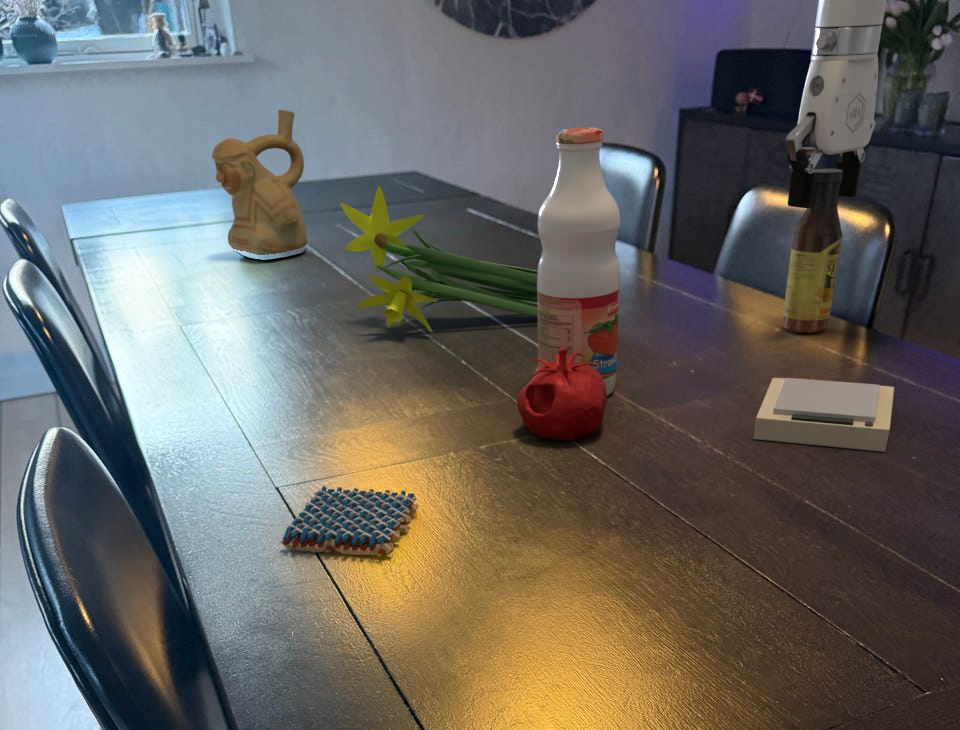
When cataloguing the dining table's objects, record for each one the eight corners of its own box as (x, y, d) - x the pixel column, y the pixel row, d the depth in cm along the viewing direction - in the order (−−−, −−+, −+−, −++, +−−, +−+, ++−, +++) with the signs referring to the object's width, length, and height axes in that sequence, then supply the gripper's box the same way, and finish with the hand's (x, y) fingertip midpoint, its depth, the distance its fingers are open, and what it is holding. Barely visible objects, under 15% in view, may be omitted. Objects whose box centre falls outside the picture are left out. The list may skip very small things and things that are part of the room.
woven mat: (424, 507, 88) (422, 487, 87) (390, 562, 80) (387, 541, 79) (321, 501, 90) (318, 482, 89) (278, 554, 82) (274, 533, 81)
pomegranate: (593, 409, 107) (595, 328, 102) (618, 441, 99) (621, 354, 94) (509, 418, 106) (507, 336, 101) (528, 451, 98) (526, 364, 93)
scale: (770, 397, 108) (773, 372, 106) (890, 407, 103) (895, 381, 102) (753, 439, 98) (756, 412, 96) (885, 452, 94) (891, 423, 92)
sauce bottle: (827, 336, 126) (853, 174, 115) (779, 334, 128) (800, 174, 116) (828, 322, 131) (853, 166, 120) (782, 321, 133) (803, 166, 121)
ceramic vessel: (211, 258, 187) (183, 117, 173) (292, 241, 198) (272, 106, 184) (255, 270, 177) (229, 120, 163) (339, 251, 187) (321, 109, 173)
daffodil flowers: (569, 345, 131) (321, 291, 125) (546, 371, 145) (323, 323, 140) (589, 227, 130) (342, 167, 125) (565, 264, 145) (342, 212, 140)
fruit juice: (545, 376, 118) (542, 126, 102) (619, 378, 116) (628, 123, 100) (532, 402, 110) (527, 136, 94) (611, 405, 108) (620, 133, 92)
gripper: (830, 49, 104) (806, 215, 113) (914, 40, 112) (885, 194, 122) (774, 49, 109) (756, 208, 118) (858, 40, 117) (835, 189, 127)
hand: (821, 201), depth 120 cm, fingers open, 9 cm apart
